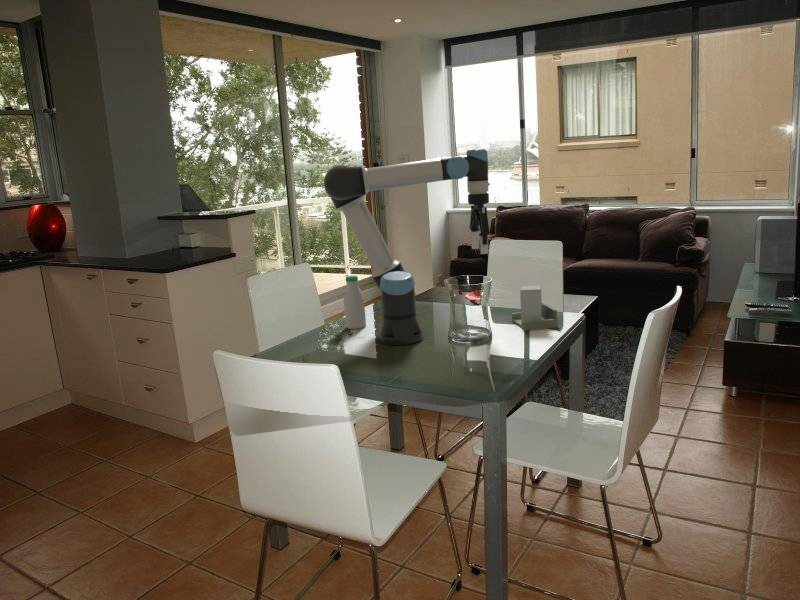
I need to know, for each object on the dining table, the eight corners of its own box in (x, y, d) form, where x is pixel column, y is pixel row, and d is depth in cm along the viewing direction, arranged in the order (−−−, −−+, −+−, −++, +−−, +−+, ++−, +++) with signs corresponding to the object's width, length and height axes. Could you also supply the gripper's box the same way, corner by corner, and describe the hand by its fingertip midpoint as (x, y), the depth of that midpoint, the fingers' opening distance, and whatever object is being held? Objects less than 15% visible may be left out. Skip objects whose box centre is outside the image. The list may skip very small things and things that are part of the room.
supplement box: (541, 324, 232) (540, 289, 229) (520, 324, 233) (519, 290, 231) (542, 318, 239) (541, 285, 236) (521, 319, 240) (520, 285, 238)
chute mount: (525, 331, 228) (524, 314, 227) (511, 321, 243) (511, 305, 241) (558, 327, 230) (557, 310, 228) (542, 317, 244) (542, 302, 243)
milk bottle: (365, 328, 248) (360, 277, 244) (345, 330, 248) (340, 279, 244) (366, 323, 256) (362, 273, 251) (347, 325, 256) (342, 275, 252)
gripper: (497, 193, 223) (499, 255, 227) (479, 190, 247) (481, 246, 252) (476, 195, 222) (478, 256, 227) (460, 192, 246) (462, 247, 251)
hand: (479, 251), depth 239 cm, fingers open, 13 cm apart
